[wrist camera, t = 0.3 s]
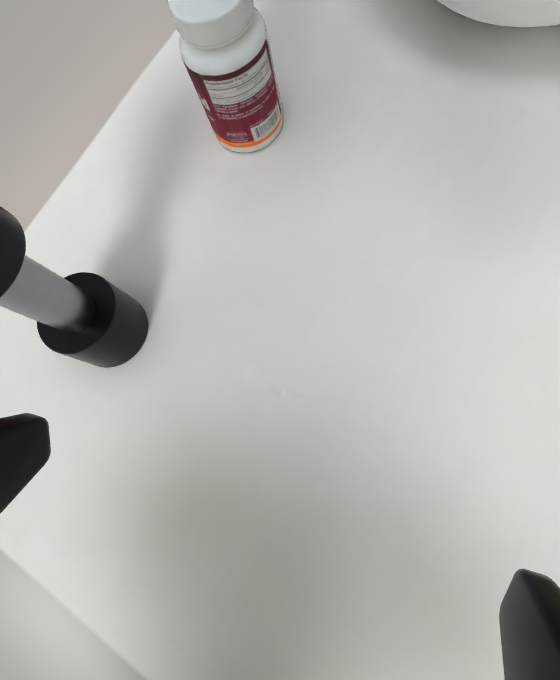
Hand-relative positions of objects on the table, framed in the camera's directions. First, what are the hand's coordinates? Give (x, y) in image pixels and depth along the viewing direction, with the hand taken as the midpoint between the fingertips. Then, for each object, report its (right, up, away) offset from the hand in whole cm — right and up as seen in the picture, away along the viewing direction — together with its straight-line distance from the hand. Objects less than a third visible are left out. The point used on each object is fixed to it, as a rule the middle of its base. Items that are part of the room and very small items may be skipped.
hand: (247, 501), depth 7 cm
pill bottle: (-1, +17, +20) cm, 26 cm away
